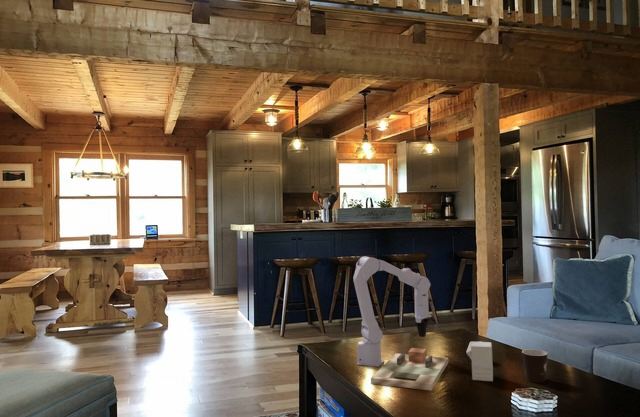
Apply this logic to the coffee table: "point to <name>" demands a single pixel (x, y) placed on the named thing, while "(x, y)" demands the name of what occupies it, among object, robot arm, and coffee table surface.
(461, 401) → the coffee table surface
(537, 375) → the coffee mug
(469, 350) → the die
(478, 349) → the supplement box
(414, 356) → the block
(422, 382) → the deck
